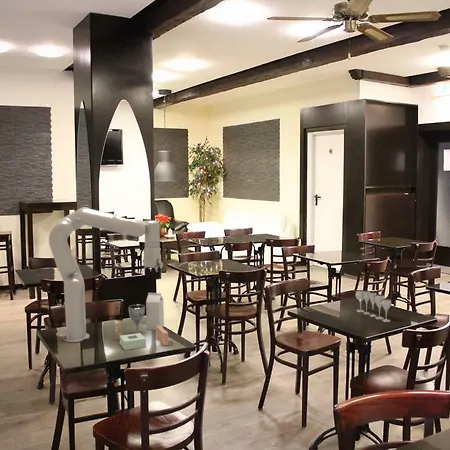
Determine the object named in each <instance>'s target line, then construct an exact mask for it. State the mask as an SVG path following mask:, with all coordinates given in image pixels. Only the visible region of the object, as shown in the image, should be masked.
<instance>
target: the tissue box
mask: <svg viewBox="0 0 450 450" xmlns="http://www.w3.org/2000/svg"><path fill="white" fill-rule="evenodd" d="M119 344H120V346H121V348H122V349H123V350H124V351H128V350H134V349H135V350H136V349H141V348H146V347H147V338H146V337H145V336H144V335H143V334H142V333H141V332H138V333H137V332H135V333H130V334H121V336H120V340H119Z"/></svg>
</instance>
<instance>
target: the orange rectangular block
mask: <svg viewBox="0 0 450 450" xmlns="http://www.w3.org/2000/svg"><path fill="white" fill-rule="evenodd" d="M155 332H156V333H155V338H156V339H157V341H159V342H160V343H161V344H162V345H163V346H168V345H169V332H168V331H166V330H165V328H164V327H163V328H162V327H161V326H156V330H155Z"/></svg>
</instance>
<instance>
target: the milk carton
mask: <svg viewBox="0 0 450 450" xmlns="http://www.w3.org/2000/svg"><path fill="white" fill-rule="evenodd" d="M147 294H148V295H147V297H146V301H145V311H146V314H145V315H146V330H151V331H156V326H161V327H162V328H163V329H164V327H165V321H164V320H165V319H164V315H165V313H164V312H165V311H164V298H163V296H162V292H161V293H160V292H159V293H158V292H147Z"/></svg>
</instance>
